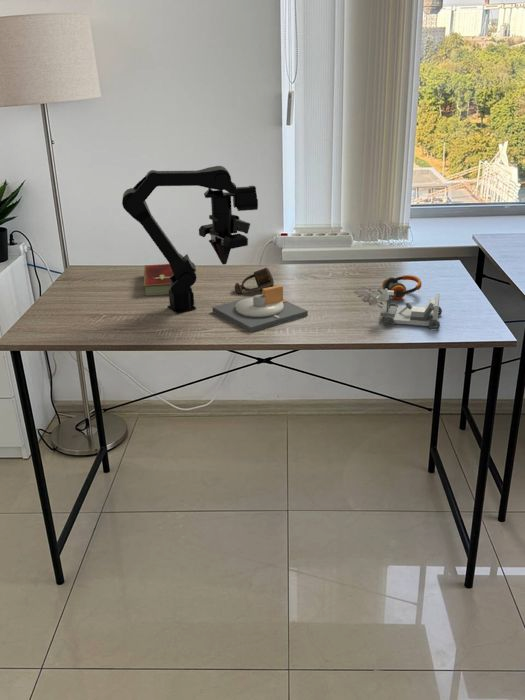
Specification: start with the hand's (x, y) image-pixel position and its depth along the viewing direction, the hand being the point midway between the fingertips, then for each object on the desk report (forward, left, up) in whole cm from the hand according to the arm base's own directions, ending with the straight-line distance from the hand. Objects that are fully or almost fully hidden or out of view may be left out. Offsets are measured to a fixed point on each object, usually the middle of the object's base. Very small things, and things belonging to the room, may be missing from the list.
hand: (224, 264), depth 217 cm
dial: (+4, -12, -11) cm, 17 cm away
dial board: (+4, -12, -13) cm, 18 cm away
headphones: (+44, -25, -13) cm, 52 cm away
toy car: (+34, -42, -14) cm, 56 cm away
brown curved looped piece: (+15, +6, -13) cm, 21 cm away
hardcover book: (-6, +30, -14) cm, 33 cm away
